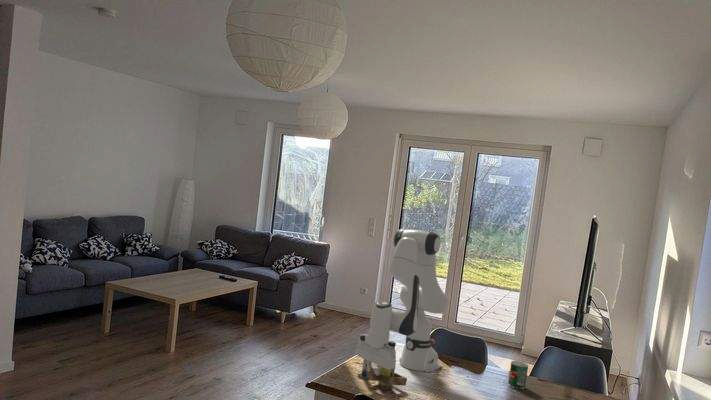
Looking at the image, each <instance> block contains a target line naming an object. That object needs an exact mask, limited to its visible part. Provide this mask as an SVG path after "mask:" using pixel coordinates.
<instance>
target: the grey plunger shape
mask: <svg viewBox="0 0 711 400" xmlns="http://www.w3.org/2000/svg"><path fill="white" fill-rule="evenodd" d="M361 368H362V369H361V372H360V373H357V374H356V376H357V378H358V377H359V379H360V378H361V380H369V379H368V376H367V375H366V373H367V369H368V366H367V360H366V359H364V358H363V362H362V367H361Z"/></svg>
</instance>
